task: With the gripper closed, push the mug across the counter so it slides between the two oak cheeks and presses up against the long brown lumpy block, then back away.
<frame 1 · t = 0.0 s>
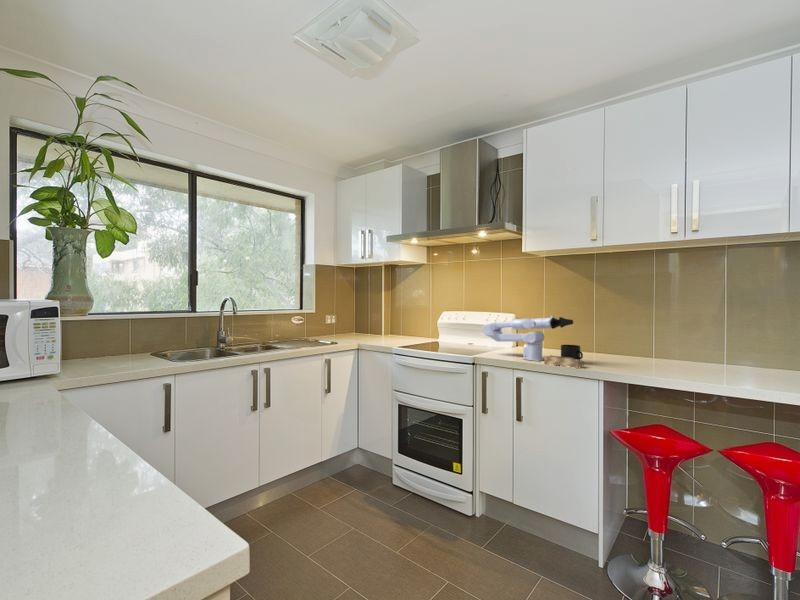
hand: (569, 322, 207), 22 cm above the worktop, tool horizontal, fingers open, 7 cm apart
brown lumpy block: (561, 365, 202), on the worktop
mug: (572, 363, 211), on the worktop
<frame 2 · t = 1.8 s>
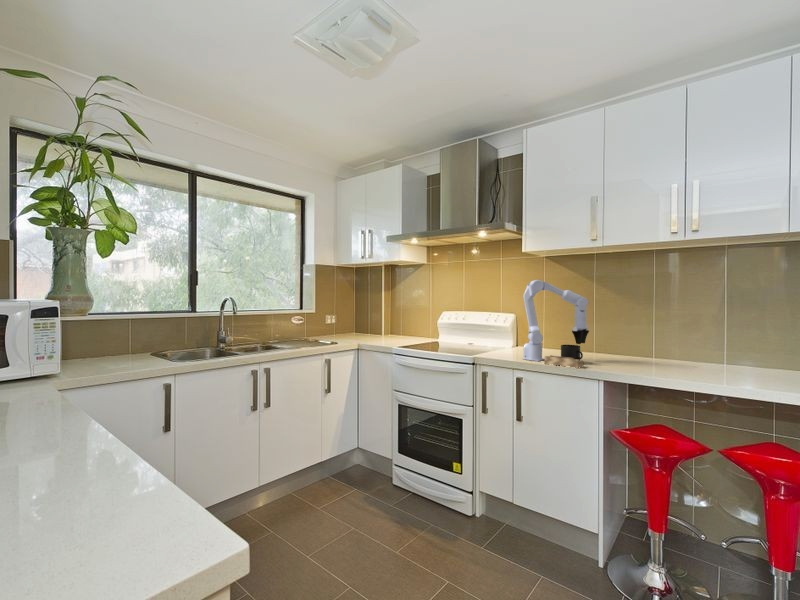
hand: (580, 343, 217), 9 cm above the worktop, tool pointing down, fingers open, 5 cm apart
nothing on the worktop moved.
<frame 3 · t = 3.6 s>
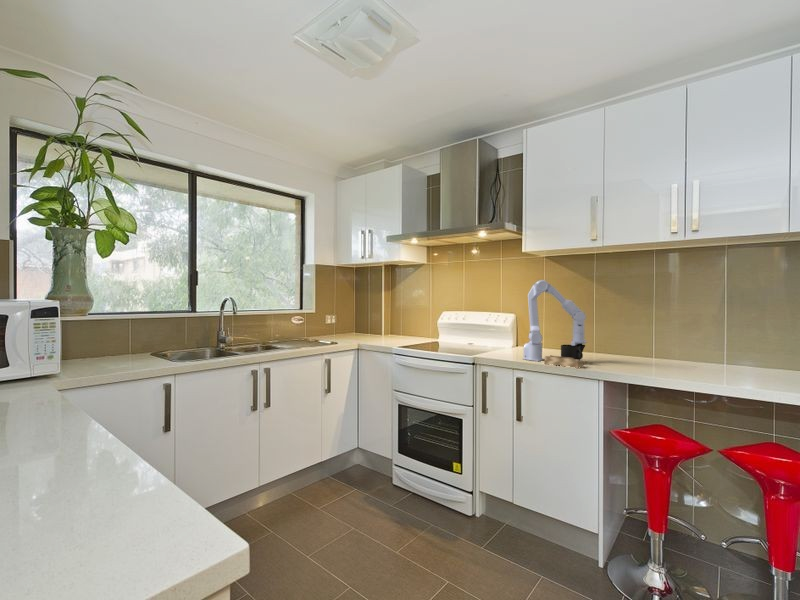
hand: (578, 357, 216), 2 cm above the worktop, tool pointing down, fingers closed
mug: (572, 363, 211), on the worktop, touching gripper
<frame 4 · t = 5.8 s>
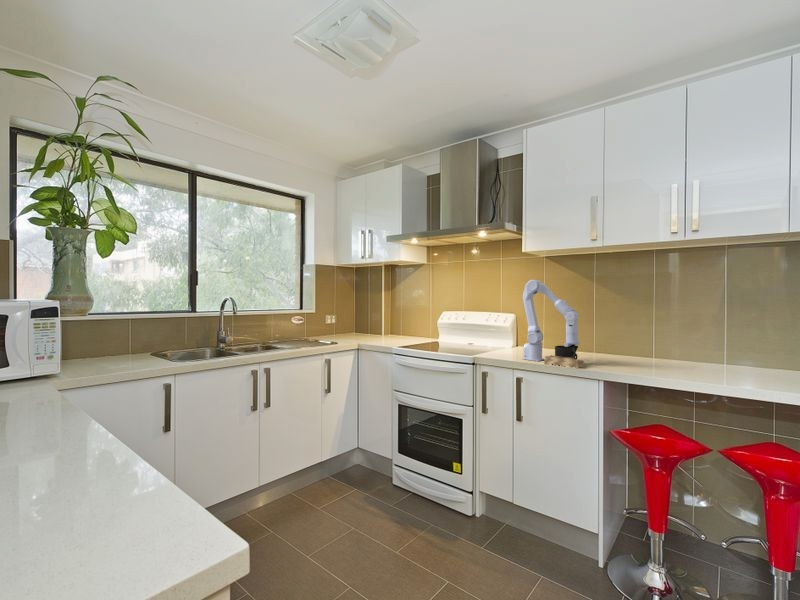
hand: (572, 359, 210), 2 cm above the worktop, tool pointing down, fingers closed
mug: (566, 364, 205), on the worktop, touching gripper, brown lumpy block
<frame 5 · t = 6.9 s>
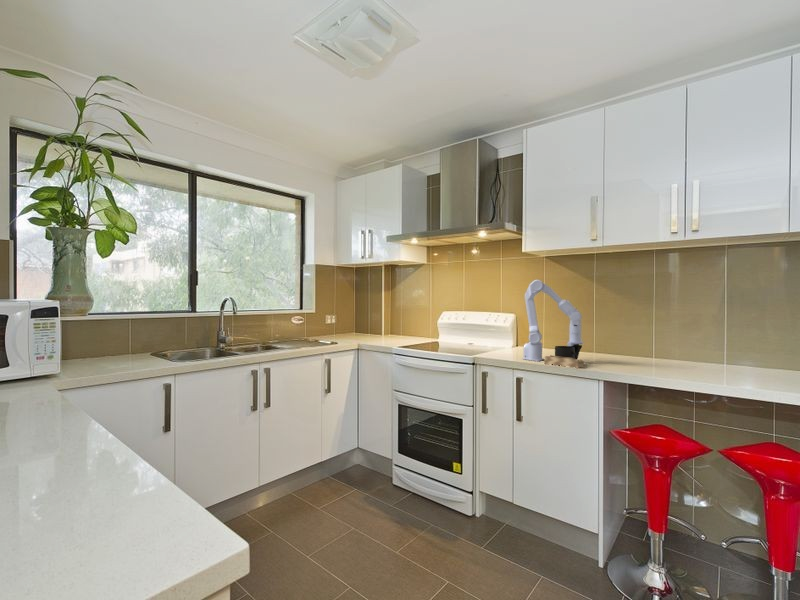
hand: (575, 358, 213), 2 cm above the worktop, tool pointing down, fingers closed
mug: (566, 365, 205), on the worktop
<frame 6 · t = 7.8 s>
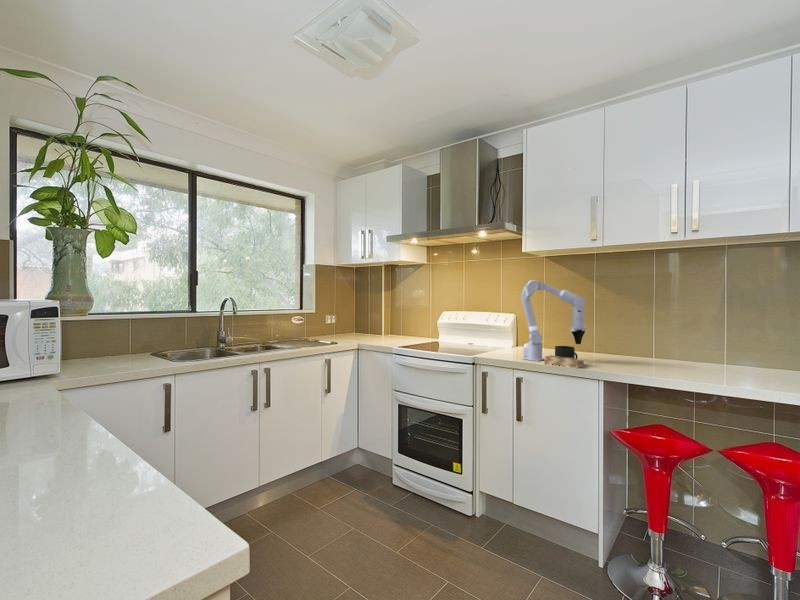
hand: (578, 344, 215), 9 cm above the worktop, tool pointing down, fingers closed
nothing on the worktop moved.
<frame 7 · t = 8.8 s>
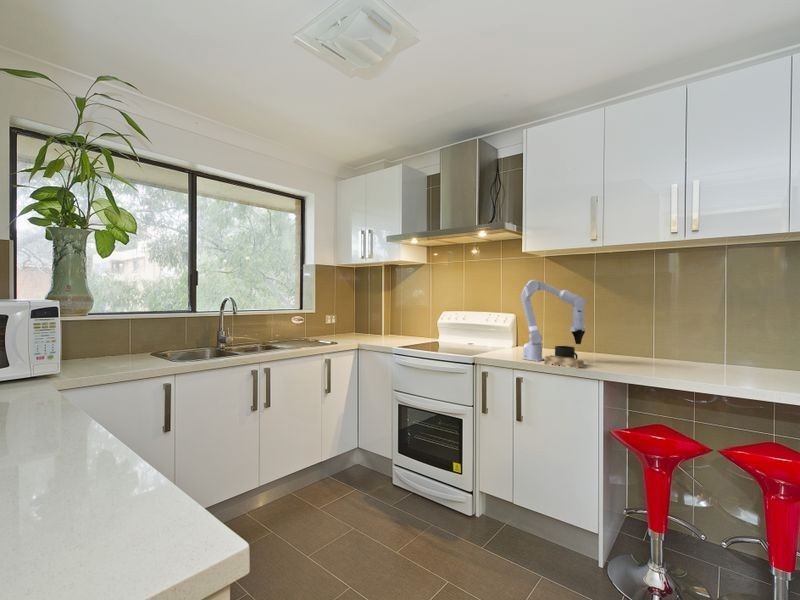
hand: (578, 344, 215), 9 cm above the worktop, tool pointing down, fingers closed
nothing on the worktop moved.
at the end: mug inside the target area (0.3 cm from its centre), on the worktop; mug tilted 0° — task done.
